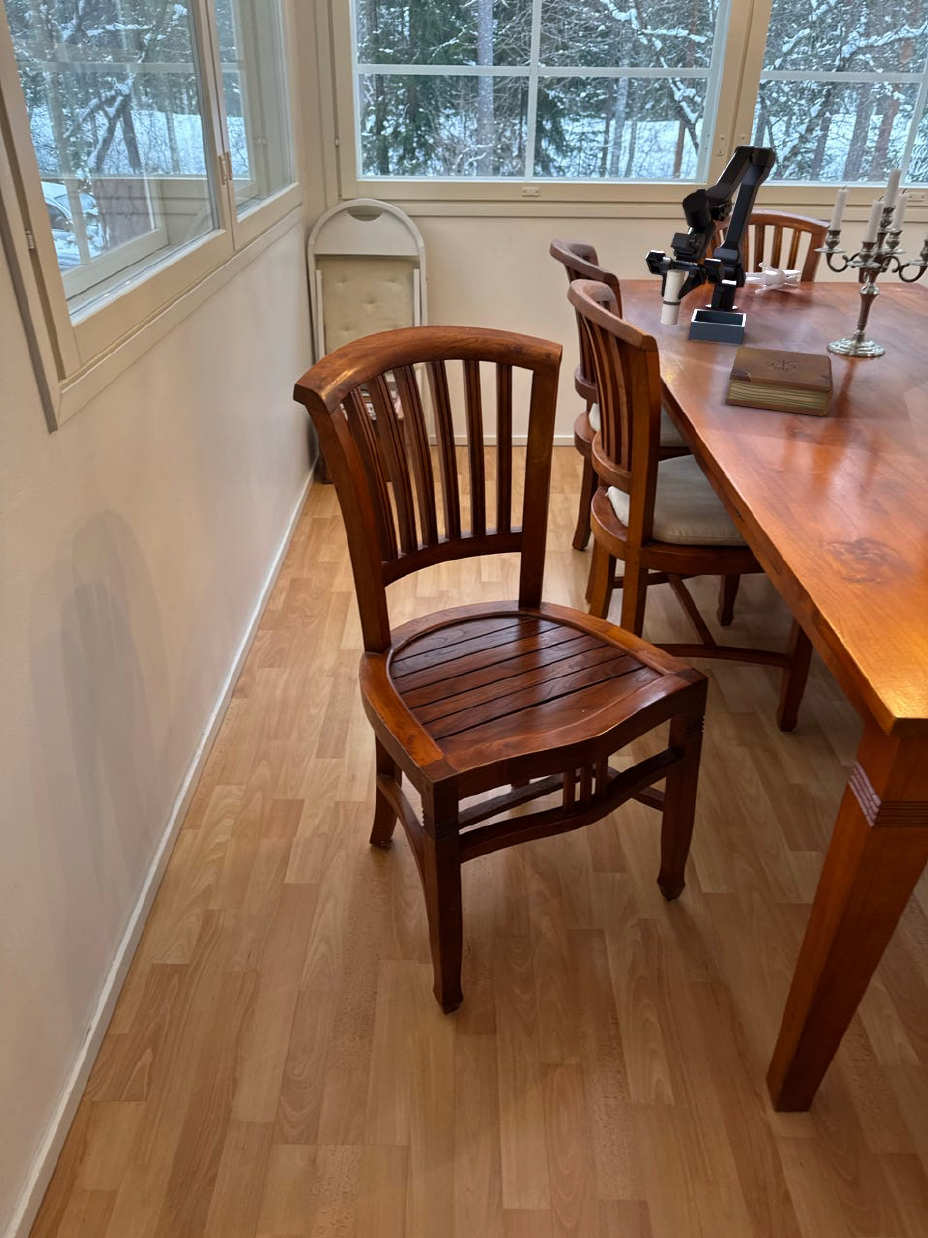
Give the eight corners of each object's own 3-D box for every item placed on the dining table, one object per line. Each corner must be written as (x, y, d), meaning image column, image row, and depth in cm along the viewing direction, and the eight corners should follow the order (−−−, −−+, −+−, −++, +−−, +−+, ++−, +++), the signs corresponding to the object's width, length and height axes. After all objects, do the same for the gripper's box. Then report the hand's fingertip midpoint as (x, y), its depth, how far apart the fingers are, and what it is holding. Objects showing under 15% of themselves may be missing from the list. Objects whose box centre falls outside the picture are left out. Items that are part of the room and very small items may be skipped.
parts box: (691, 328, 218) (695, 309, 215) (742, 333, 215) (746, 313, 213) (687, 341, 207) (691, 321, 205) (740, 346, 204) (744, 326, 202)
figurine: (728, 261, 252) (801, 262, 245) (732, 262, 262) (803, 264, 256) (724, 293, 255) (796, 295, 248) (728, 293, 265) (798, 295, 259)
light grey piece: (671, 320, 215) (678, 268, 208) (681, 324, 211) (689, 272, 205) (656, 321, 213) (663, 269, 207) (666, 325, 210) (674, 273, 203)
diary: (826, 417, 164) (834, 387, 160) (724, 404, 168) (730, 374, 165) (825, 382, 182) (832, 354, 179) (733, 372, 187) (738, 344, 184)
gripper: (654, 213, 207) (626, 269, 206) (729, 222, 198) (701, 281, 196) (664, 245, 217) (637, 298, 215) (736, 255, 208) (709, 311, 206)
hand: (670, 297), depth 208 cm, fingers closed on light grey piece, 4 cm apart
